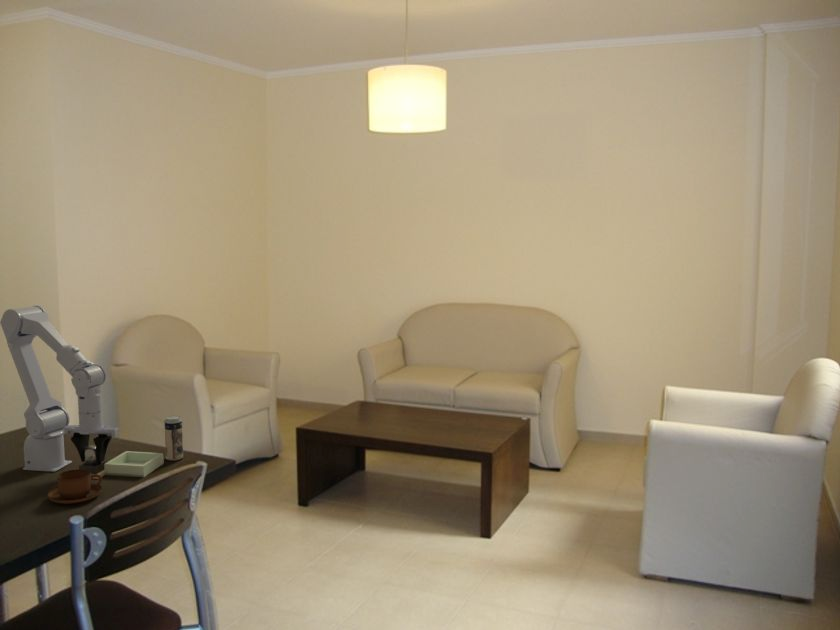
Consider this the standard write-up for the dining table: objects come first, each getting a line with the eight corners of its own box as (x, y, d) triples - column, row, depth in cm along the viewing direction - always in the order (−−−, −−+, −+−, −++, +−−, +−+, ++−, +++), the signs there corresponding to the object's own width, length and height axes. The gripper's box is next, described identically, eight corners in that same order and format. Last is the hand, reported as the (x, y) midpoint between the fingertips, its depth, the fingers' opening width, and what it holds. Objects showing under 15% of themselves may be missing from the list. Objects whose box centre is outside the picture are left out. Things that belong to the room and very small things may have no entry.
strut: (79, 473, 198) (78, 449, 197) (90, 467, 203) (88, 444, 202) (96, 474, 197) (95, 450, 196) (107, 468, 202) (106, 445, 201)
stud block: (73, 477, 197) (73, 466, 197) (88, 468, 204) (88, 458, 204) (98, 478, 196) (97, 468, 196) (113, 469, 203) (112, 459, 203)
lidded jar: (177, 462, 210) (176, 420, 208) (162, 460, 211) (160, 419, 209) (186, 456, 215) (185, 415, 213) (171, 455, 216) (169, 414, 214)
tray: (104, 474, 199) (104, 464, 199) (126, 461, 210) (126, 451, 210) (143, 477, 198) (143, 466, 197) (163, 463, 209) (163, 453, 208)
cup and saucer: (87, 486, 192) (85, 462, 191) (111, 497, 184) (110, 473, 183) (39, 499, 182) (37, 475, 182) (62, 512, 175) (61, 486, 174)
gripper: (55, 414, 195) (58, 464, 197) (107, 416, 193) (110, 467, 195) (71, 407, 202) (74, 456, 204) (122, 409, 200) (124, 458, 202)
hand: (92, 461), depth 200 cm, fingers closed on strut, 4 cm apart
